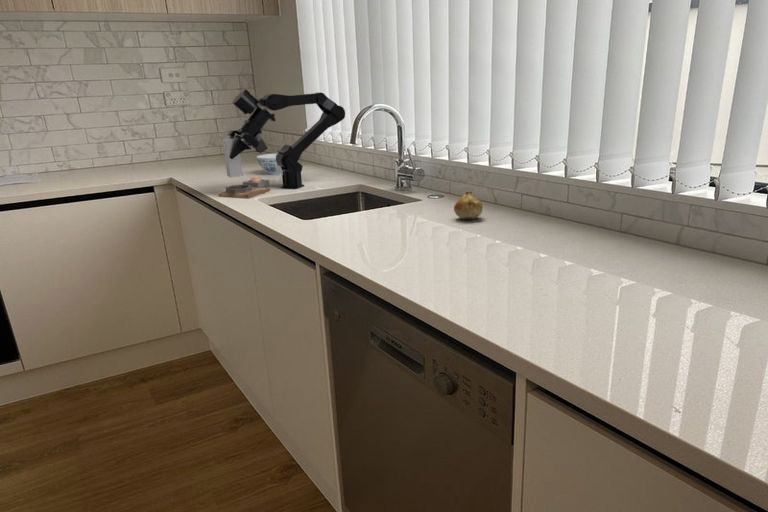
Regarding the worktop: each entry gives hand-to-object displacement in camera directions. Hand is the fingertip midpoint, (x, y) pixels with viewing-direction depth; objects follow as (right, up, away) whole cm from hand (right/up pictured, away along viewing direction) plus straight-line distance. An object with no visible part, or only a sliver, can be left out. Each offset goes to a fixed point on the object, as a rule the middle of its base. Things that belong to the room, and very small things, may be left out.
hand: (228, 157), depth 202 cm
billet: (+2, -6, +3) cm, 7 cm away
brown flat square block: (+5, -12, +5) cm, 14 cm away
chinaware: (+7, +1, +49) cm, 50 cm away
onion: (+78, -25, -42) cm, 92 cm away
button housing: (+6, -8, +17) cm, 20 cm away
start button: (+6, -7, +17) cm, 19 cm away
